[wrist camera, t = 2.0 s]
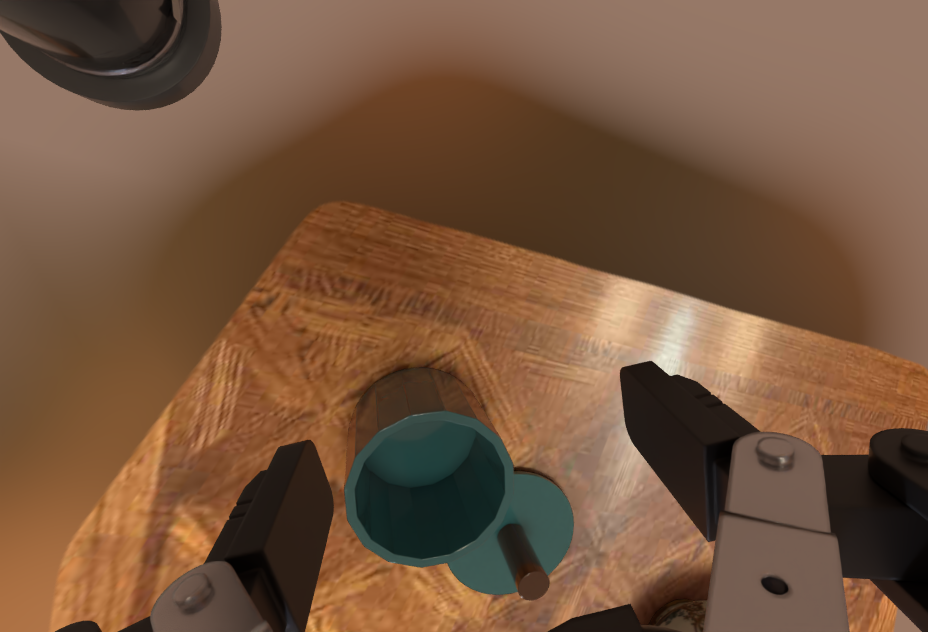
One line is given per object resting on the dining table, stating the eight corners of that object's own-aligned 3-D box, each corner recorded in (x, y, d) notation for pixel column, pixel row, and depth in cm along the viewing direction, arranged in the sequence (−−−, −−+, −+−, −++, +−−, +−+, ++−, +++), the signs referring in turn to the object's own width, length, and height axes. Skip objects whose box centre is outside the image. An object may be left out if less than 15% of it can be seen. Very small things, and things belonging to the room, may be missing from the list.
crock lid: (413, 543, 38) (423, 608, 32) (505, 441, 38) (533, 486, 32) (508, 606, 41) (534, 676, 35) (593, 512, 41) (634, 566, 35)
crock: (320, 442, 35) (307, 510, 27) (411, 340, 35) (426, 378, 27) (422, 512, 38) (438, 593, 30) (506, 419, 38) (546, 474, 30)
